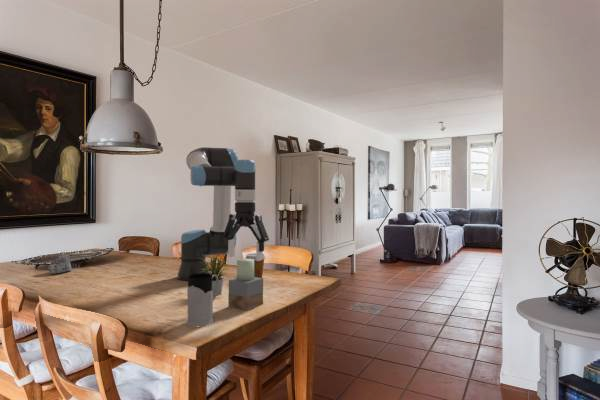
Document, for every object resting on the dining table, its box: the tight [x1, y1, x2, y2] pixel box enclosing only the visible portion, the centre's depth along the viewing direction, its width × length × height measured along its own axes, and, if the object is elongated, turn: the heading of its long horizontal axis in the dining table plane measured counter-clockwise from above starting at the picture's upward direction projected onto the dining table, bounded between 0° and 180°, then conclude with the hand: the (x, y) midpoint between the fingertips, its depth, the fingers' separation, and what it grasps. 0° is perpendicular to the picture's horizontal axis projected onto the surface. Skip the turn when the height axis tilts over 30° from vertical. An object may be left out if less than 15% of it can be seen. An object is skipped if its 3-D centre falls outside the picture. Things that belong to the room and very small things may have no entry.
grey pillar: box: [186, 273, 218, 328], centre depth 118 cm, size 9×14×15 cm, turn 159°
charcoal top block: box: [228, 277, 264, 297], centre depth 133 cm, size 9×9×5 cm
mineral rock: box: [47, 253, 73, 275], centre depth 190 cm, size 13×11×10 cm
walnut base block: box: [227, 291, 264, 312], centre depth 133 cm, size 9×9×5 cm
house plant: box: [199, 255, 229, 296], centre depth 149 cm, size 14×14×16 cm
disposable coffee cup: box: [245, 252, 266, 278], centre depth 175 cm, size 10×10×12 cm
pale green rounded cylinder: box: [236, 258, 254, 281], centre depth 133 cm, size 6×6×7 cm
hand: (245, 258), depth 134 cm, fingers open, 13 cm apart
